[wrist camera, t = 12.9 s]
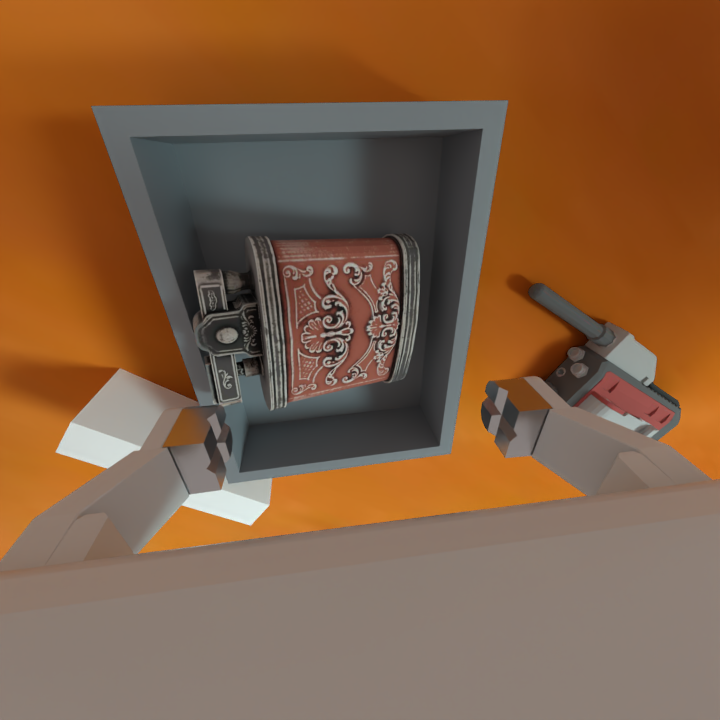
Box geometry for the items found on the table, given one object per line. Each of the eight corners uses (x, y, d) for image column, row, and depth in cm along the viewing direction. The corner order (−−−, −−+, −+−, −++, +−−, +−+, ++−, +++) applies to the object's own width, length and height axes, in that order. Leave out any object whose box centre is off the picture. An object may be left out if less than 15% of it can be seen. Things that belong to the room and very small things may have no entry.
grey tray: (453, 117, 16) (508, 100, 11) (425, 404, 25) (450, 453, 21) (154, 123, 14) (91, 106, 10) (242, 425, 23) (228, 483, 19)
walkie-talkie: (683, 377, 28) (531, 266, 21) (741, 410, 24) (582, 288, 17) (602, 445, 31) (448, 371, 24) (643, 484, 28) (474, 409, 20)
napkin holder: (50, 362, 19) (-34, 428, 15) (234, 313, 20) (210, 362, 15) (179, 507, 27) (152, 581, 23) (309, 472, 27) (310, 538, 23)
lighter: (388, 230, 17) (174, 232, 13) (427, 238, 14) (174, 244, 10) (379, 364, 21) (209, 399, 17) (408, 391, 18) (215, 440, 14)
